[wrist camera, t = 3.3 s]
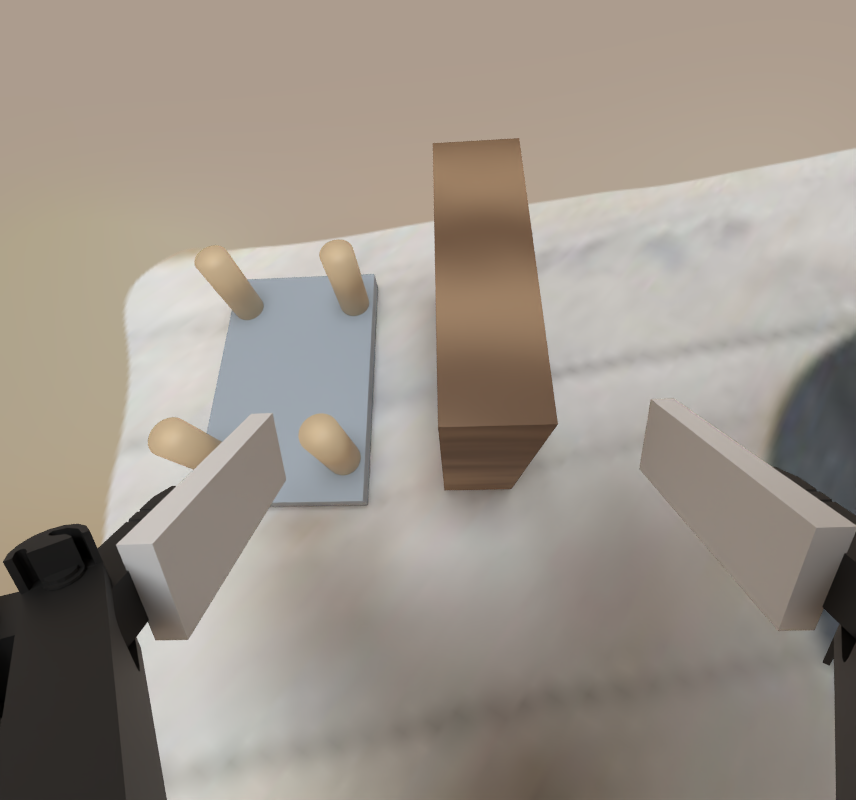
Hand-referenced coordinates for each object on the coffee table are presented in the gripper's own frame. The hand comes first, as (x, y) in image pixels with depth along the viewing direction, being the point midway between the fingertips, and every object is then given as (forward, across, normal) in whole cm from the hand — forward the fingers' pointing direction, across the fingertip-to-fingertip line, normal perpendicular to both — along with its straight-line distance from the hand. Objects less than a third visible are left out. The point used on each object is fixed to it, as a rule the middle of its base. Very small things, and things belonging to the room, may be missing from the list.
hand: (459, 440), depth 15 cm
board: (+13, +1, -3) cm, 13 cm away
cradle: (+13, -10, -2) cm, 17 cm away
